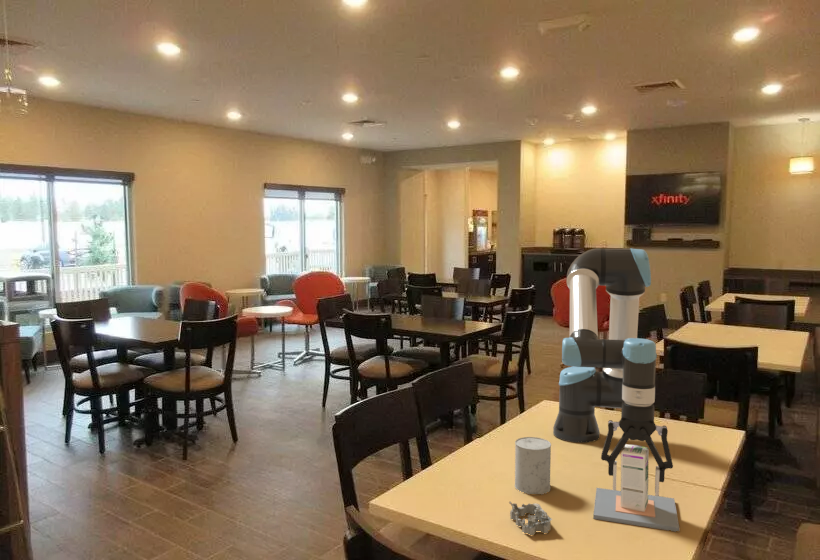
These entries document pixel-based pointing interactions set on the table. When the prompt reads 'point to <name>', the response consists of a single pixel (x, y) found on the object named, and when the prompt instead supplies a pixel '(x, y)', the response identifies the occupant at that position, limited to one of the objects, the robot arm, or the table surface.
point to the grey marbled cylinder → (532, 465)
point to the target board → (655, 515)
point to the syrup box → (634, 477)
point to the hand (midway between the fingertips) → (635, 490)
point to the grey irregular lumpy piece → (531, 518)
